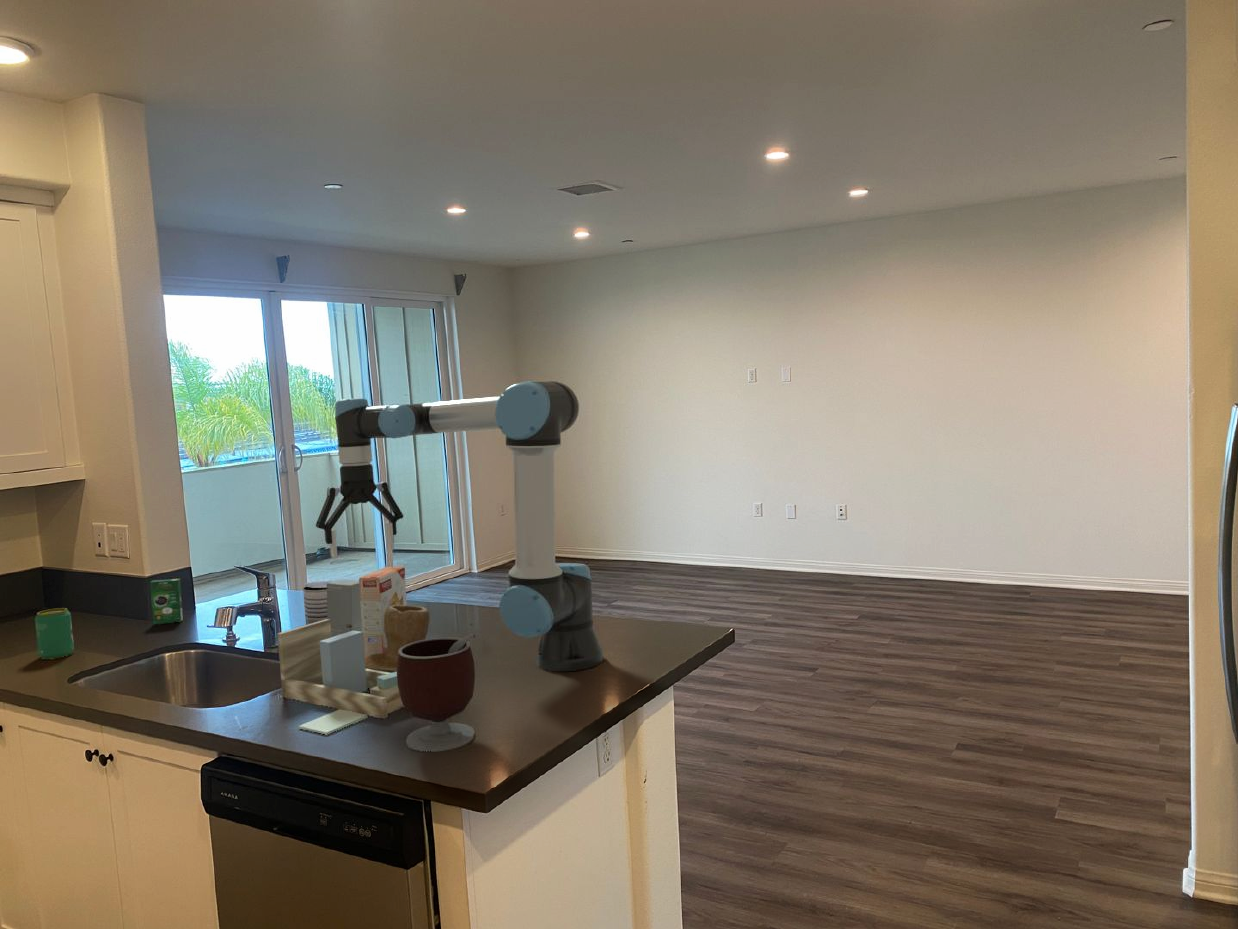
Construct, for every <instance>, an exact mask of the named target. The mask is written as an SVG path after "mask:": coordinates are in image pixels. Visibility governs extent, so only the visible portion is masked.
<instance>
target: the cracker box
mask: <svg viewBox="0 0 1238 929" xmlns="http://www.w3.org/2000/svg"><path fill="white" fill-rule="evenodd" d="M358 581H359V587H360V604H361V620H362V632H363V642H364V655H365V658H366V657H368V656H370V655H373V654H379V653H385V652H386V651H387V650H388V645H387V640H386V635H385V629H384V615H385V612H386V610H387V608H388V607H389V606H393V605H402V606H403V605H407V606H408V604H407V602H408V601H407V587H406V583H407V582H406V570H405V567H404V566H385V567H382V568H380V569H378V570H375V571H372V572H370V573H368V574H365V575H363V576H361V577H359V578H358Z"/></svg>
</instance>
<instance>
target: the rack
mask: <svg viewBox="0 0 1238 929" xmlns="http://www.w3.org/2000/svg"><path fill="white" fill-rule="evenodd" d="M276 634H277V645H278V646H277V647H278V658H279V659H278V660H279V667H280V668H279V669H280V680H281V681H280V682H281V691H282V693H281V694H282V698H283V697H285V699H288V700H293V699H296V700H295V701H297V700H300V701H299V702H302V701H303V702H304V703H307V702H308V704H312V705H316V706H321V705H323V706H322V707H325V706H328V707H327V708H330V707H333V708H332V709H335V708H337V709H336V710H339V709H341V710H346V711H352V712H356V713H360V714H365V715H369V716H368V717H372V716H373V717H372V718H377V719H381V718H385V719H387V718H388V717H389V716H388V714H387V701H386V697H381V696H376V695H370V693H365V692H363V693H360V692H355V691H350V690H345V689H340V688H335V687H329V686H324V685H323V679H322V666H321V654H320V641H322V640H325V639H328V638H331V625H330V619H325V620H322V621H318V622H315V623H311V624H308V625H306V624H305V625H302V626H298V627H295V628H291V629H288V630H284V631H281V632H278V633H276ZM365 669H366V668H365ZM389 673H390V672H388V671H379V670H372V669H366V682H367V689H368V688H369V690H370V689H372V688H374V687H377V677H378V676H382V675H386V674H389Z"/></svg>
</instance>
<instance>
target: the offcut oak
mask: <svg viewBox="0 0 1238 929" xmlns="http://www.w3.org/2000/svg"><path fill="white" fill-rule="evenodd" d="M401 707H403V703H402V700H401V697H399V698H397V699H395V700H393V701H390V702H388V703H387V713H389V714H391V713H392V712H391V711H394V712H396V711H398V710H400V709H399V708H401ZM403 708H404V707H403ZM397 709H398V710H397ZM401 709H402V708H401ZM395 710H396V711H395ZM390 712H391V713H390Z"/></svg>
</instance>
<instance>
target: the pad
mask: <svg viewBox="0 0 1238 929" xmlns="http://www.w3.org/2000/svg"><path fill="white" fill-rule="evenodd" d="M368 717H369V716H367V715H365V714H360V713H355V712H351V711H346V710H341V709H336V710H335V711H333V712H330V713H328V714H325V715H322V716H320V717H318V718H314V719H311V720H310V721H308V722H305V723H303V724H300V725H298V729H299V730H301V729H303V730H302V731H305V730H310V731H315V732H318V733H322V734H325V735H324V736H326V735H327V734H329V735H331V734H330V733H332V732H334V731H336V732H338V731H337V730H339V731H341V730H343V729H345V728H344V727H346V728H348V727H350V726H351V725H350V724H353V725H355V724H358V723H359V721H360V722H362V721H364V720H366V719H365V718H367V719H368ZM363 719H364V720H363ZM361 720H362V721H361ZM349 725H350V726H349ZM347 726H348V727H347ZM342 728H343V729H342ZM340 729H341V730H340ZM310 731H309V732H310ZM318 733H317V734H318ZM334 733H335V732H334ZM322 734H321V735H322ZM332 734H333V733H332ZM327 736H328V735H327Z"/></svg>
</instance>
